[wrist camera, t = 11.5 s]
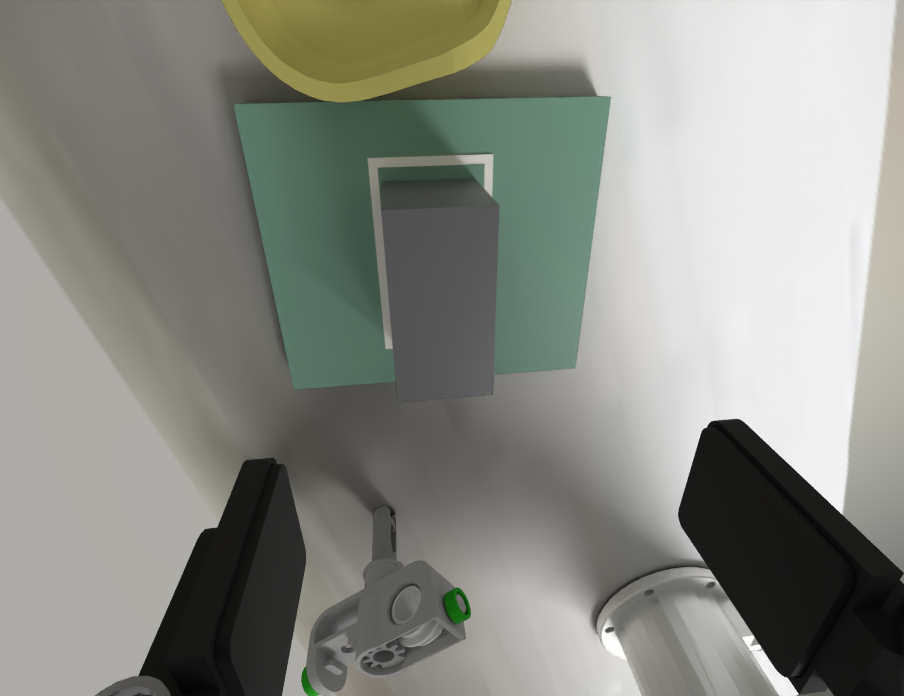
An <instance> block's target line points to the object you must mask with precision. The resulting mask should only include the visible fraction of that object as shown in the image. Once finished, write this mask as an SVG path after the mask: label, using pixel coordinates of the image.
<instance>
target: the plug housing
mask: <svg viewBox="0 0 904 696" xmlns="http://www.w3.org/2000/svg"><path fill="white" fill-rule="evenodd" d="M381 215H382V227H383V239H384V251H385V262H386V274H387V286H388V298H389V310H390V322H391V333H392V345H393V357H394V369H395V381H396V392H397V402H407V401H420V400H432V399H445V398H457V397H470V396H483V395H493V377H494V348H495V319H496V291H497V262H498V233H499V204H498V203H497V202H496V201H495V200H494V199H493V198H492V197H491V196H490V194H489V193H488V192H487V191H486V190H485V189H484V188H483V187H482V186H481V184H480V183H479V182H478V181H477V180H476V179H475V178H471V179H443V180H414V181H386V182H382V202H381Z"/></svg>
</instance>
